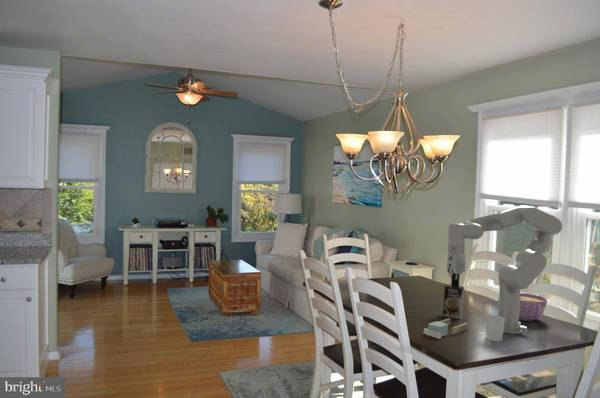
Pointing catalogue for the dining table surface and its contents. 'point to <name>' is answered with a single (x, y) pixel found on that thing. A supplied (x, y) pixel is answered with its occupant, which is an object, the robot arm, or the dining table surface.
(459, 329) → the channel
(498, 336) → the white cup
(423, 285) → the dining table surface
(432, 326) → the block
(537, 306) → the bowl of food
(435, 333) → the stop bar
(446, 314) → the coffee box
